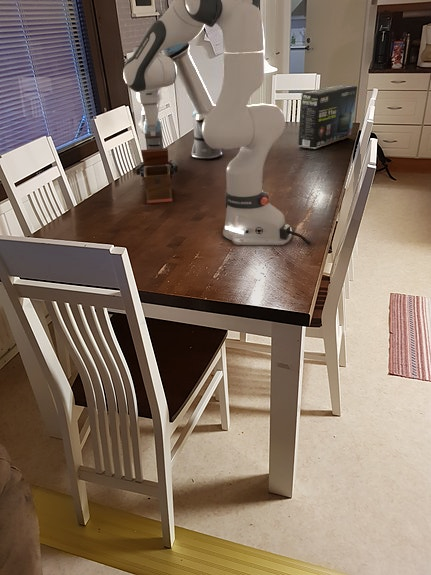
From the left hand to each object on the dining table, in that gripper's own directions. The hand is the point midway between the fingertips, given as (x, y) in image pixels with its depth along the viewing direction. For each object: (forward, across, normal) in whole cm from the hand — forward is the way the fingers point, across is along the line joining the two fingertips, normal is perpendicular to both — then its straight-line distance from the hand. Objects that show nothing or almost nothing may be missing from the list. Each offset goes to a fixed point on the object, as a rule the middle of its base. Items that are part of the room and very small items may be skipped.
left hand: (157, 175), depth 183 cm
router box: (-59, -90, -7) cm, 108 cm away
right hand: (+2, 0, +16) cm, 17 cm away
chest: (+4, 0, -7) cm, 8 cm away
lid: (+3, 0, +8) cm, 8 cm away
